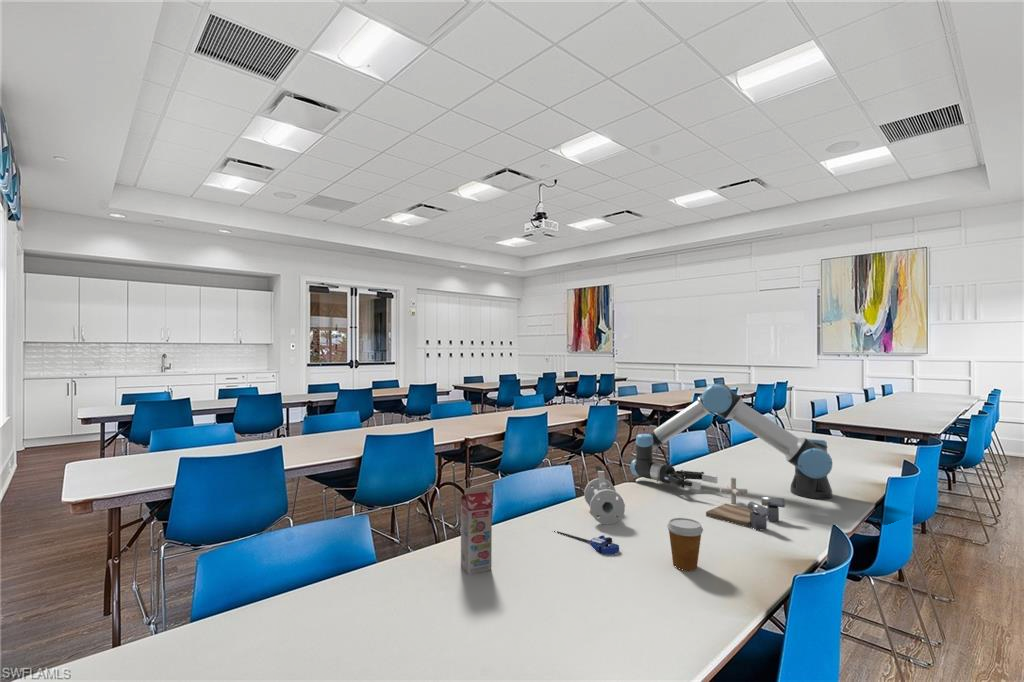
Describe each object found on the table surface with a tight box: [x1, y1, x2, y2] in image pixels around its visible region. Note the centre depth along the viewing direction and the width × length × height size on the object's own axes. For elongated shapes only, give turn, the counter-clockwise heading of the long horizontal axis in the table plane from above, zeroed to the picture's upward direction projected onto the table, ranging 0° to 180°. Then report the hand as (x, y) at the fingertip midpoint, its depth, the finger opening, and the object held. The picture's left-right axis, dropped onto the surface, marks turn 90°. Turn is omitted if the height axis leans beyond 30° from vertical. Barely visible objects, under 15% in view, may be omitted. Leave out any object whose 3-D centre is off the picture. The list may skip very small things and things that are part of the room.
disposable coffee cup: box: [666, 517, 704, 571], centre depth 138 cm, size 10×10×12 cm
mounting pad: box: [705, 503, 753, 527], centre depth 180 cm, size 15×15×2 cm
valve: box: [584, 465, 626, 526], centre depth 182 cm, size 22×12×15 cm, turn 179°
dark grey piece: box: [747, 501, 769, 531], centre depth 168 cm, size 7×4×8 cm, turn 11°
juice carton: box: [460, 485, 493, 575], centre depth 137 cm, size 7×7×22 cm
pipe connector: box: [719, 476, 748, 505], centre depth 196 cm, size 10×10×10 cm
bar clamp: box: [553, 530, 620, 555], centre depth 159 cm, size 32×2×10 cm
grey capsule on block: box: [761, 496, 786, 524], centre depth 176 cm, size 7×4×8 cm, turn 71°
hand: (708, 483), depth 203 cm, fingers open, 13 cm apart
